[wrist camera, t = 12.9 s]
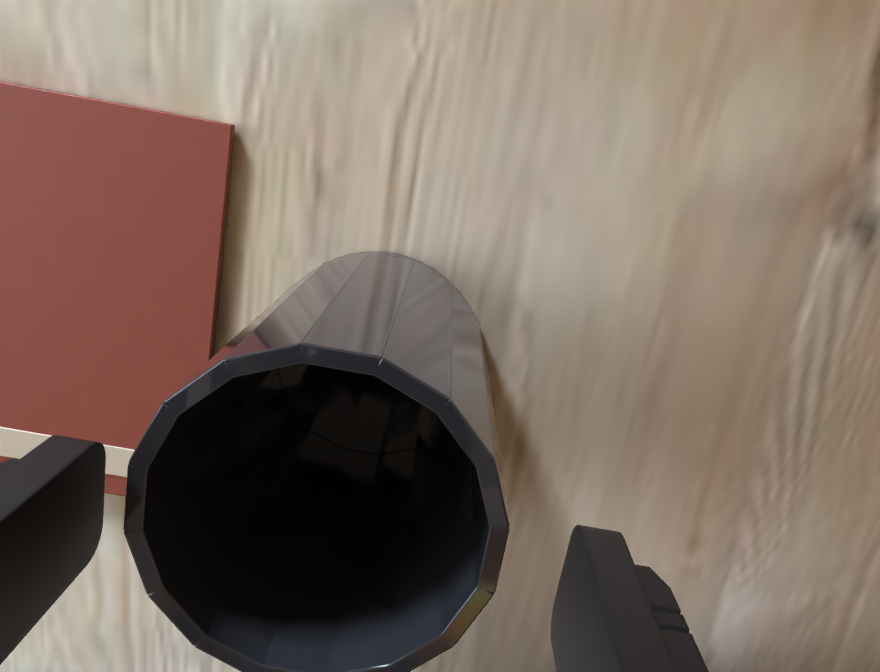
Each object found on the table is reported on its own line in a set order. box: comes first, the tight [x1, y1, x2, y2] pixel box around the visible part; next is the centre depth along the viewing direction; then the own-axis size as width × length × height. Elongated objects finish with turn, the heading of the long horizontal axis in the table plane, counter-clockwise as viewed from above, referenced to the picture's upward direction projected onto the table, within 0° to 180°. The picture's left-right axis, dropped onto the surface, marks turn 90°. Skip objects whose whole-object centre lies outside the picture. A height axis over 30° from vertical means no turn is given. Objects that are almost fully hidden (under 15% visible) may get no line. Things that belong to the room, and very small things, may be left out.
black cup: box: [124, 252, 510, 672], centre depth 17 cm, size 6×6×10 cm
